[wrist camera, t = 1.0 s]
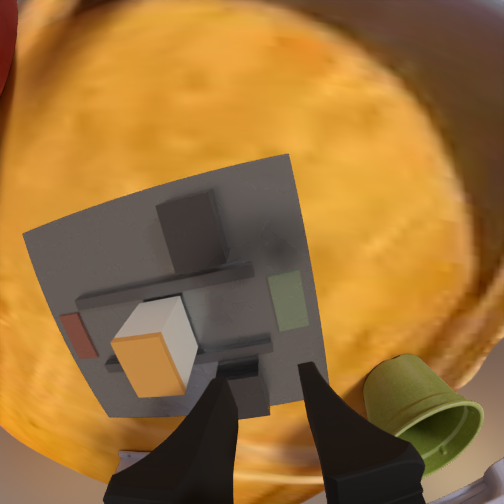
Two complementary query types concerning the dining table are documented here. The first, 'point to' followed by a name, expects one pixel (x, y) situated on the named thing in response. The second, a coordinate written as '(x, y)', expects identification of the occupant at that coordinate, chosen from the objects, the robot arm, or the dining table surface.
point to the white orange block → (157, 348)
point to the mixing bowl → (7, 37)
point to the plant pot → (421, 410)
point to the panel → (190, 284)
